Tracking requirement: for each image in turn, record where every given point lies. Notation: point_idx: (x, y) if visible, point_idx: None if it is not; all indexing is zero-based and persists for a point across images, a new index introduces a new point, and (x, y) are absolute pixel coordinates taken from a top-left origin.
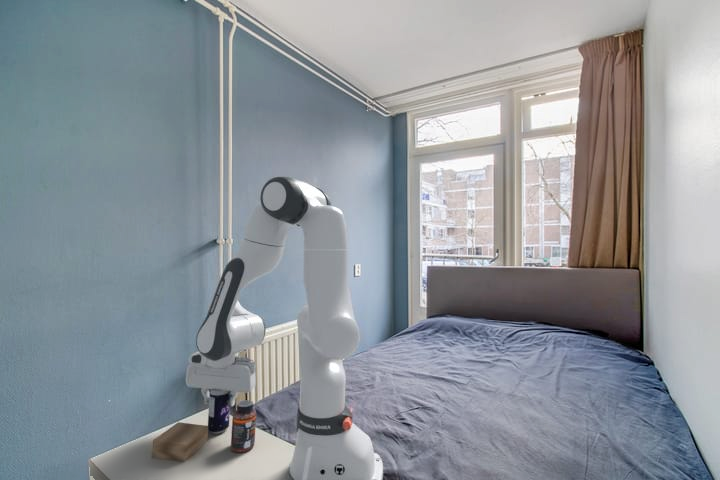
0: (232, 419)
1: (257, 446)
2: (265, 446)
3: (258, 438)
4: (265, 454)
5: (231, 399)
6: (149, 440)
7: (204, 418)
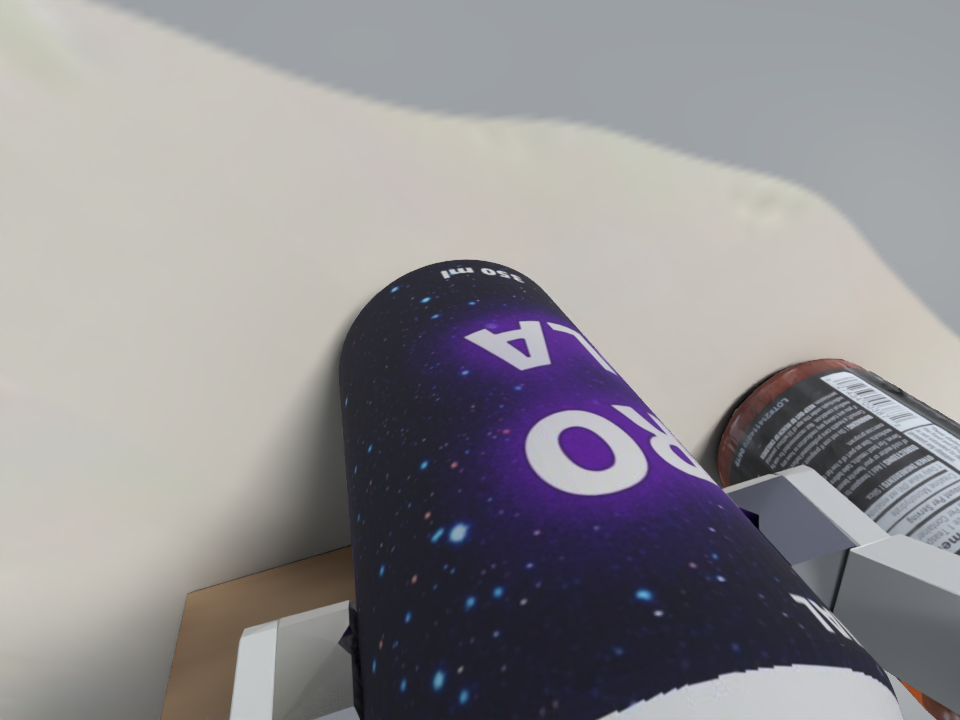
0: (900, 681)
1: (886, 376)
2: (941, 350)
3: (870, 289)
4: (952, 415)
5: (869, 643)
6: (16, 715)
7: (21, 221)
